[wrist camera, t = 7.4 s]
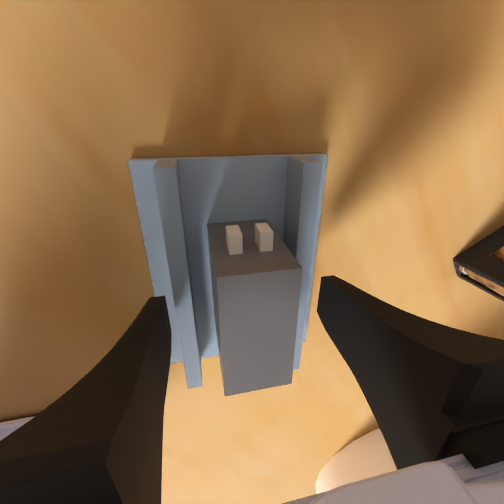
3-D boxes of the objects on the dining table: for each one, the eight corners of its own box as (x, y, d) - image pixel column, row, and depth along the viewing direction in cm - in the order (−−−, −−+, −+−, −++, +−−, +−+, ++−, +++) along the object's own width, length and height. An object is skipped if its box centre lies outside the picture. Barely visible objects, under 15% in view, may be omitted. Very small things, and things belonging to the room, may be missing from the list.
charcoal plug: (214, 319, 16) (224, 396, 12) (205, 207, 13) (214, 256, 9) (264, 312, 17) (291, 383, 12) (266, 203, 14) (304, 247, 9)
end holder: (168, 356, 17) (165, 392, 15) (130, 158, 12) (117, 169, 10) (301, 334, 19) (317, 364, 17) (322, 152, 14) (349, 161, 11)
